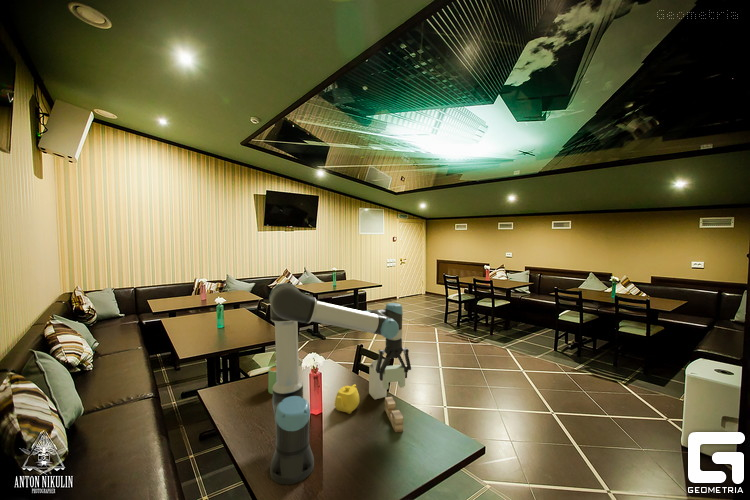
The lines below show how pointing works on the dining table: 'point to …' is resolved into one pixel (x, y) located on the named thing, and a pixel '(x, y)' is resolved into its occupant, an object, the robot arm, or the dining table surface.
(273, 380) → the mug
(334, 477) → the dining table surface
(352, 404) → the teapot
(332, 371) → the dining table surface
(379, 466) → the dining table surface
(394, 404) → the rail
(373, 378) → the milk carton
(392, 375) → the block
